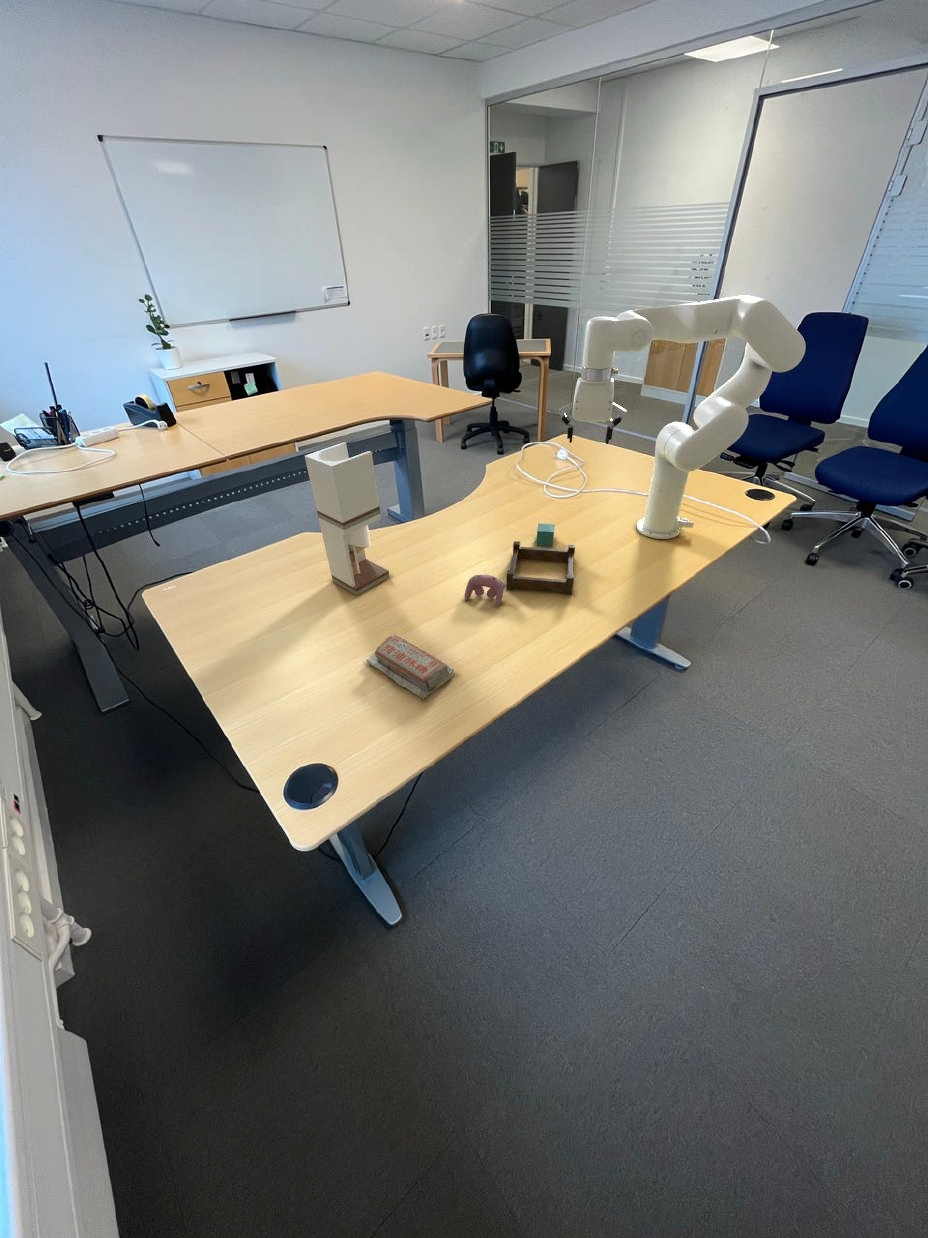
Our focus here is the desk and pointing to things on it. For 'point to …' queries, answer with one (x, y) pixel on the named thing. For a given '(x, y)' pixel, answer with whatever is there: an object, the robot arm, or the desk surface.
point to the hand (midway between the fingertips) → (588, 441)
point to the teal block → (545, 534)
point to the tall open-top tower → (346, 514)
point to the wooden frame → (541, 583)
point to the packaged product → (410, 666)
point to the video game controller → (486, 581)
